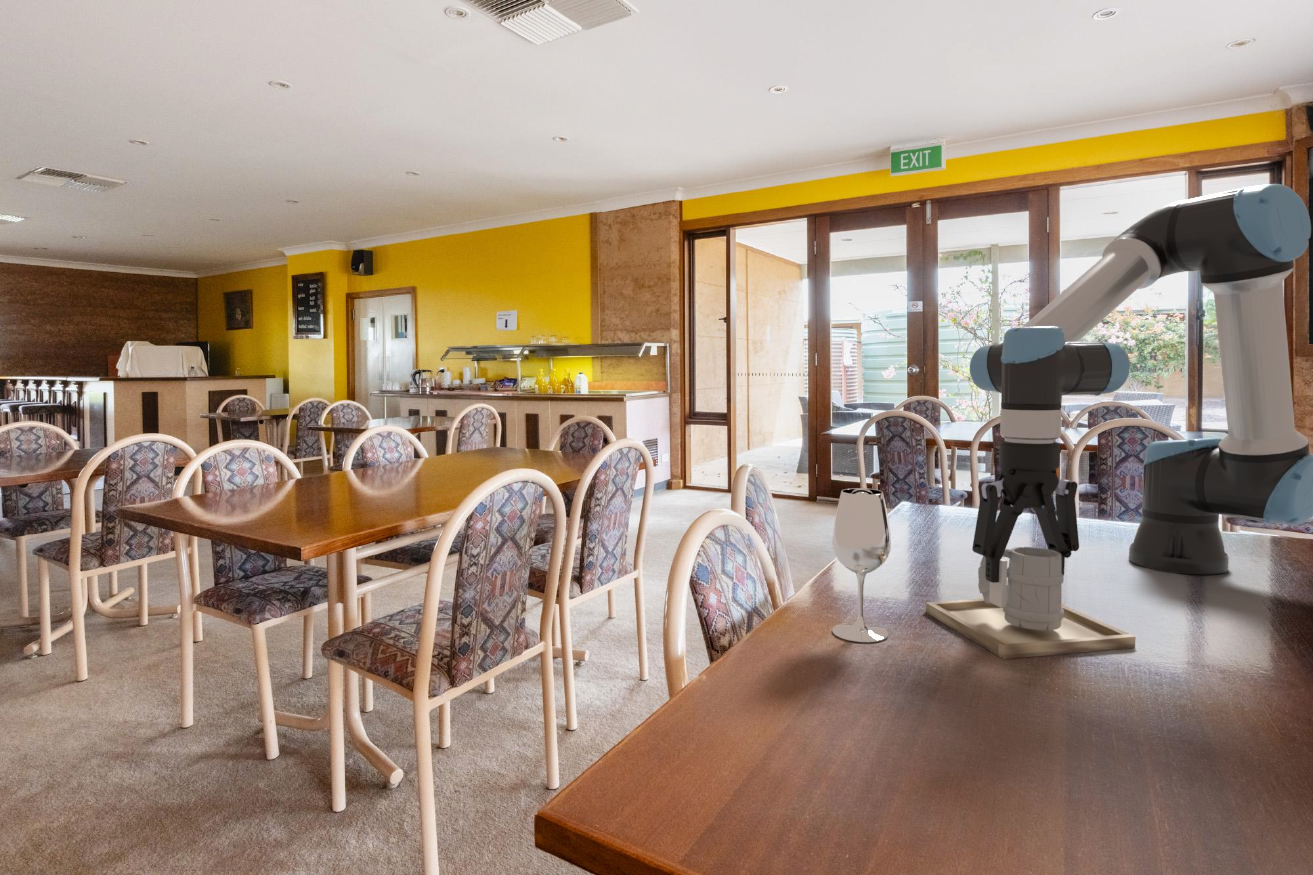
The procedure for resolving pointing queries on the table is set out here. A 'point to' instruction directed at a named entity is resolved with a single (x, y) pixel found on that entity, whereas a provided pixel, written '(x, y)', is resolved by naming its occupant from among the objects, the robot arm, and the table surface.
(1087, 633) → the square serving tray
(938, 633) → the table surface
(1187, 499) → the robot arm
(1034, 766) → the table surface
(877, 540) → the wineglass
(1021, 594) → the mug
